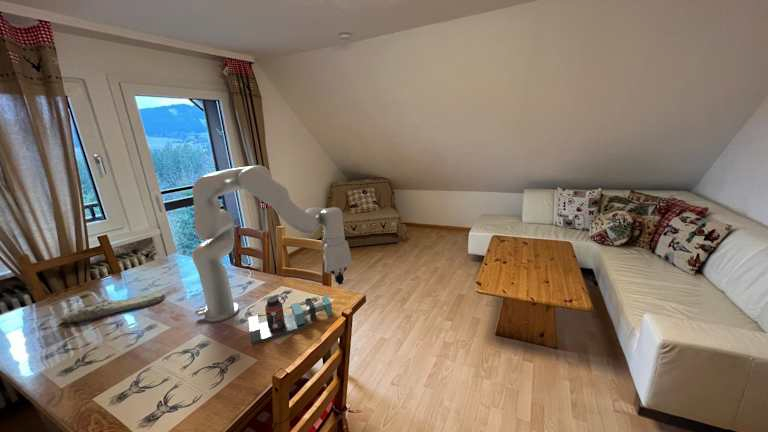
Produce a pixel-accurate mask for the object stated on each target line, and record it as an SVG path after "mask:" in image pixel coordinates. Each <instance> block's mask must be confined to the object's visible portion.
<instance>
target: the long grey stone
mask: <svg viewBox="0 0 768 432" xmlns="http://www.w3.org/2000/svg"><path fill="white" fill-rule="evenodd" d="M165 299H166V294H165V293H164V292H162V293H161V292H160V293H158V292H154V293H150V294H145V295H139V296H134V297H131V298H126V299H118V300H110V301H109V300H106V301H103V302H99V303H96V304H91V305H89V306H86V307H82V308H80V309H76V310H73V311H70V312H67V313H64V314H63V315H62V316H61V318H60V321H61V322H62V323H65V324H67V323H69V324H70V323H77V322H80V321H81V322H84V321H89V320H92V319H93V320H96V319H99V318H101V316H102V317H105V316H106V315H107V316H109V315H113V314H115V313H118V312H126V311H129V310H134V309H138V308H143V307H148V306H150V305H154V304H158V303H160V302H162V301H164V300H165ZM88 319H89V320H88Z"/></svg>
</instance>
